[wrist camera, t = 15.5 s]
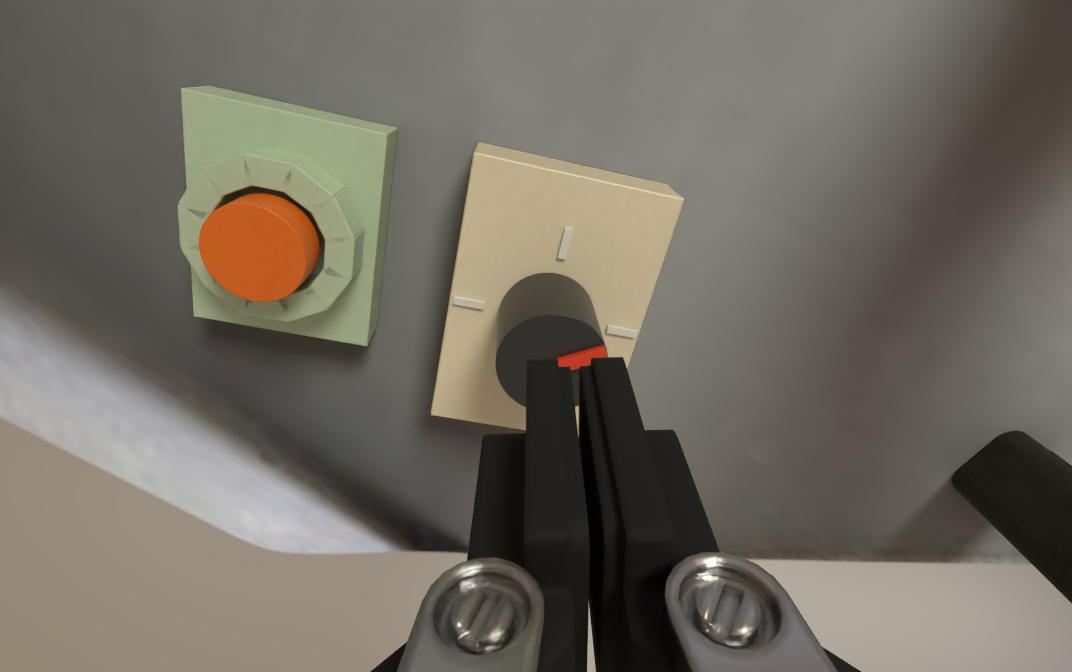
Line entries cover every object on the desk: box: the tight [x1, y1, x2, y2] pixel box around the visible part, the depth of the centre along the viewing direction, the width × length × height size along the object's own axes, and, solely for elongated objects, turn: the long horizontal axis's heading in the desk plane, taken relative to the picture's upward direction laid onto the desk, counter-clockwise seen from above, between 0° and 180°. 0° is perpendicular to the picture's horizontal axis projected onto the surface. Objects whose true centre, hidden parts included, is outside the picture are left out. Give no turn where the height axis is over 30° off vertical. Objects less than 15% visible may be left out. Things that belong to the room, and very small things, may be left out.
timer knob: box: [495, 273, 608, 407], centre depth 23 cm, size 4×4×5 cm
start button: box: [199, 193, 320, 302], centre depth 22 cm, size 4×4×2 cm
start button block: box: [178, 86, 397, 346], centre depth 24 cm, size 10×8×4 cm
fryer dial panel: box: [431, 142, 684, 437], centre depth 27 cm, size 13×9×3 cm
